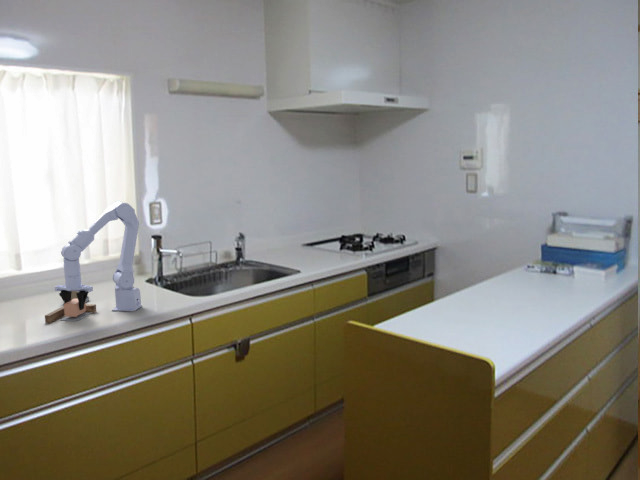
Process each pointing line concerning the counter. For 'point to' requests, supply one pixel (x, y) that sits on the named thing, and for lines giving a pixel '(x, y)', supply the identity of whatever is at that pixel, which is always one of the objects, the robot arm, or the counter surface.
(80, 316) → the mat
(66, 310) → the block
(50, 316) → the brown l-shaped piece
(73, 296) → the ceramic mug
